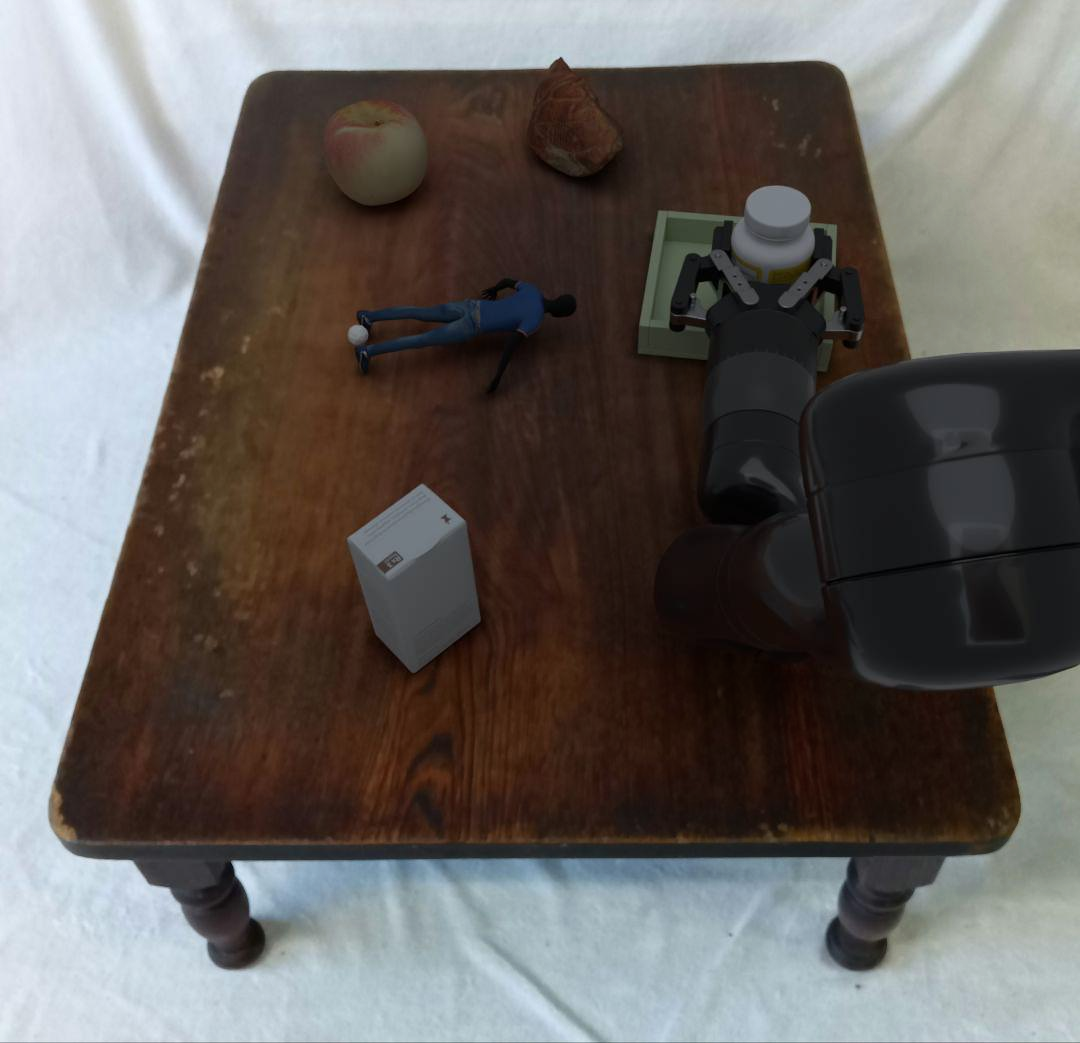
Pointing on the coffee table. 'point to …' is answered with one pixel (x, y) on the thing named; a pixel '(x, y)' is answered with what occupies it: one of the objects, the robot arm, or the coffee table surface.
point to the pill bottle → (774, 236)
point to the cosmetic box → (417, 576)
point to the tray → (667, 256)
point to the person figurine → (465, 322)
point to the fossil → (571, 124)
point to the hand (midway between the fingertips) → (772, 233)
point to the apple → (375, 151)
